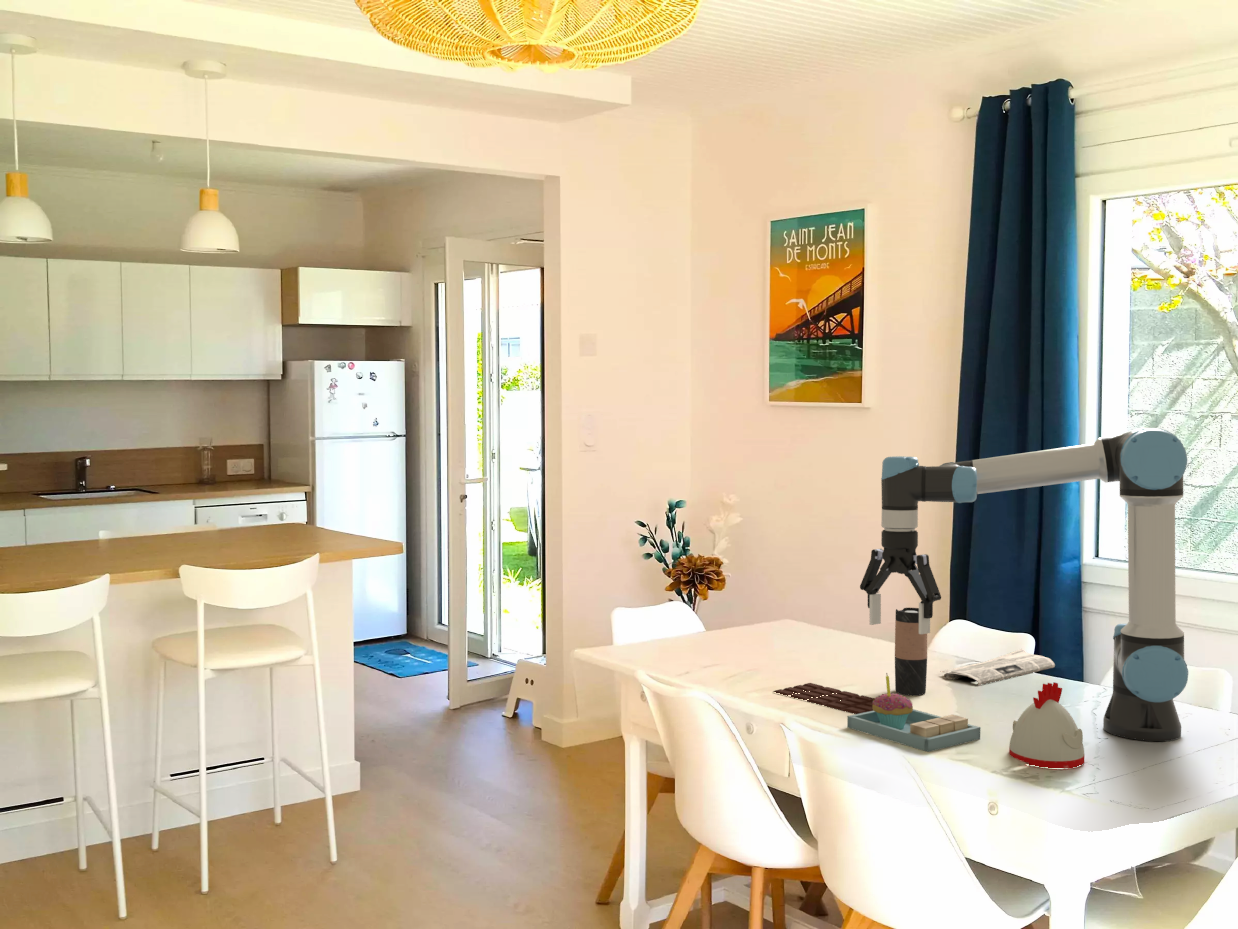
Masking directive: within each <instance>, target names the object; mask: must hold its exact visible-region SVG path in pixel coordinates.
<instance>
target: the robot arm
mask: <svg viewBox="0 0 1238 929" xmlns="http://www.w3.org/2000/svg"><path fill="white" fill-rule="evenodd" d="M881 465H882V467H881V478H880V480H881V482H880V483H881V524H880V525H881V528H884V529H882V531H881V546H882V548H883V549H882V548H875V549H872V550H871V552H870V553H871V554H870V560H869V563H868V565H867V568H866V571H865V573H864V575H863V578H862V580H861V583H860V585H859V588H860V590H862V591H865V593H866V594H867V608H868V609H869V625H871V626H874V625H879V624H882V618H881V617H882V615H881V614H882V609H881V608H882V607H881V606H882V604H881V602H882V596H881V593H880V589H881V588H882V586H883V585H884V584H885V582H886V581H887V579H888V578H889V577H890V575H892V574H894V573H897V574H901V575H904V576H905V577H906V578H908V581H909V582H910V584H911V586H913V589H914V590H915V591H916V593H917V596H918V597H919V599H920V600H921V601H920V602H918V608H919V634H927V635H928V634H930V633H931V619H932V618H933V616H934V615H933V614H934V612H933V606H934V605H933V604H934V602H937V601H941V599H942V596H941V592H940V588H939V587H938V583H937V582H936V579H935V576H934V573H933V570H932V568H931V566H930V558H929V556H930V555H929V554H927V553H925V554H924V553H923V554H917V552H916V550H917V547H918V546H919V545H918V544H919V532H918V530H916V528H918V525H919V524H918V523H919V522H918V520H919V518H918V516H919V502H926V503H927V502H929V503H930V502H933V503H935V502H938V503H958V504H962V503H973V502H975V501H976V500H977V496H978V495H979V494H987V493H988V494H989V493H996V492H1005V491H1011V490H1012V491H1013V490H1019V489H1026V488H1027V489H1028V488H1037V487H1042V486H1043V487H1044V486H1045V487H1046V486H1052V485H1059V484H1069V483H1075V482H1076V483H1077V482H1082V481H1091V480H1092V481H1093V480H1101V481H1102V482H1104V483H1105V484H1106V483H1112V482H1119V497H1120V498H1121V499H1122V500H1124V502H1126V505H1127V537H1128V538H1127V544H1128V545H1127V546H1128V547H1127V550H1128V552H1127V554H1128V565H1127V566H1128V573H1127V574H1128V577H1127V578H1128V622H1127V623H1118V624H1117V625H1115V627H1114V632H1113V636H1112V639H1113V664H1112V665H1113V668H1112V671H1113V672H1112V677H1113V678H1112V694H1111V697H1110V699H1109V702H1108V706H1107V707H1106V710H1105V713H1104V715H1103V723H1102V724H1103V728H1102V729H1103V730H1104V731H1105V732H1107V733H1109V734H1112V735H1114V736H1118V737H1121V738H1125V739H1128V740H1129V739H1130V740H1137V741H1144V742H1145V741H1146V742H1149V741H1150V742H1168V741H1169V742H1170V741H1174V740H1177V739H1180V738H1181V737H1182V723H1181V721H1180V718H1179V714H1178V710H1177V709H1176V705H1175V701H1174V699H1175V698H1176V697H1179V695H1180V694H1182V692H1183V691H1184V689H1185V688H1186V686H1187V684H1188V679H1189V669H1188V665H1187V662H1186V660H1185V632H1184V631H1183V630H1182V629H1181V628H1180V627H1179V626H1178V625H1177V623H1176V620H1177V619H1176V615H1177V614H1176V505H1177V503H1178V502H1179V501H1180V500H1181V499H1182V498H1183V497H1184V474H1185V472H1186V470H1187V466H1188V454H1187V451H1186V448H1185V446H1184V445H1183V443H1182V441H1181V440H1180V439H1179V438H1178V436H1176V435H1175V434H1173V433H1172V432H1171V431H1169V430H1166V429H1163V428H1161V427H1139V428H1135V429H1133V430H1132V429H1131V430H1129V431H1126V432H1125V431H1124V432H1122V433H1118V434H1114V435H1109V436H1103V437H1098V438H1096V440H1095V441H1094V442H1093V443H1092V442H1091V443H1087V444H1086V443H1085V444H1081V445H1080V444H1079V445H1073V446H1072V445H1071V446H1066V447H1065V446H1063V447H1058V448H1051V449H1050V448H1049V449H1043V450H1037V451H1029V452H1022V453H1015V454H1014V453H1013V454H1008V455H1000V456H993V457H987V458H986V457H985V458H979V459H978V458H977V459H971V460H964V461H956V462H953V461H952V462H951V461H949V462H945V463H942V464H941V465H938V466H933V465H932V466H926V465H920V463H919V459H918V457H916V456H900V455H899V456H898V455H897V456H888V457H885V458H884V459H883V460H882V464H881ZM883 561H884V562H883Z"/></svg>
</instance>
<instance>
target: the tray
mask: <svg viewBox="0 0 1238 929" xmlns="http://www.w3.org/2000/svg"><path fill="white" fill-rule="evenodd" d="M940 717H941V716H940V715H935V714H932V713H928V712H925V711H922V710H917V709H915V708H913V711H912V713H910V714H909V715H908V717H907V719H906V722H905V725H904V728H903V729H900V730H899V729H896V728H892V727H889V726H885V725H882V724H880V721H879V718H878V715H877V713H876V712H875V711H869V712H865V713H860V714H851V715H847V718H846V719H847V724H846V725H847V726H846V727H847V728H848V729H851V730H855V731H858V732H862V733H865V734H868V735H871V736H874V737H878V738H880V739H884V740H888V741H889V742H894V743H898V744H901V745H904V746H907V747H911V748H913V749H916V750H917V749H918V750H920V751H923V752H927V753H930V752H934V751H938V750H941V749H946V748H950V747H953V746H957V745H962V744H966V743H969V742H973V741H978V740H981V727H980V726H978V725H973V724H969V723H968V728H967V729H963V730H959V731H955V732H950V733H946V734H942V735H938V736H934V737H930V738H927V737H923V736H920V735H916V734H913V733H910V724H913V723H917V722H922V721H926V720H931V719H935V718H940Z"/></svg>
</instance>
